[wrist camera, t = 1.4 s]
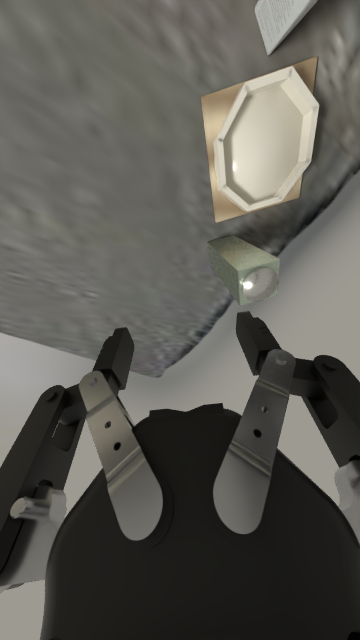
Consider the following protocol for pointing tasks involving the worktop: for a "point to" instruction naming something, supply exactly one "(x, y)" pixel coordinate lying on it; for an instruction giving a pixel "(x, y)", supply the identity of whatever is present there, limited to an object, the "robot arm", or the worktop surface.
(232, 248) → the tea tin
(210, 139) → the board
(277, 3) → the skincare box
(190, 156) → the worktop surface
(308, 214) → the worktop surface
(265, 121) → the bowl
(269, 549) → the robot arm
